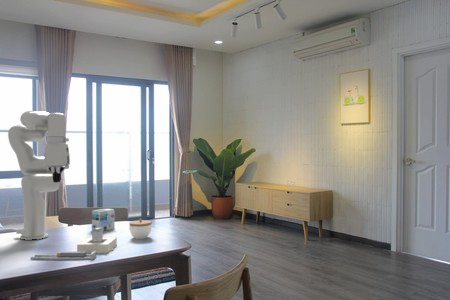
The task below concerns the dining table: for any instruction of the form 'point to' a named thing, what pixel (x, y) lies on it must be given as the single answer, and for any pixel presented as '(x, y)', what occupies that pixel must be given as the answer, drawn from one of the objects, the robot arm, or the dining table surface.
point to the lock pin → (71, 254)
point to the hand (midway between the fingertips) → (56, 182)
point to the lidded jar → (140, 228)
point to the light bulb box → (103, 219)
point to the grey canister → (97, 235)
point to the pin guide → (54, 257)
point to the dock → (97, 245)
